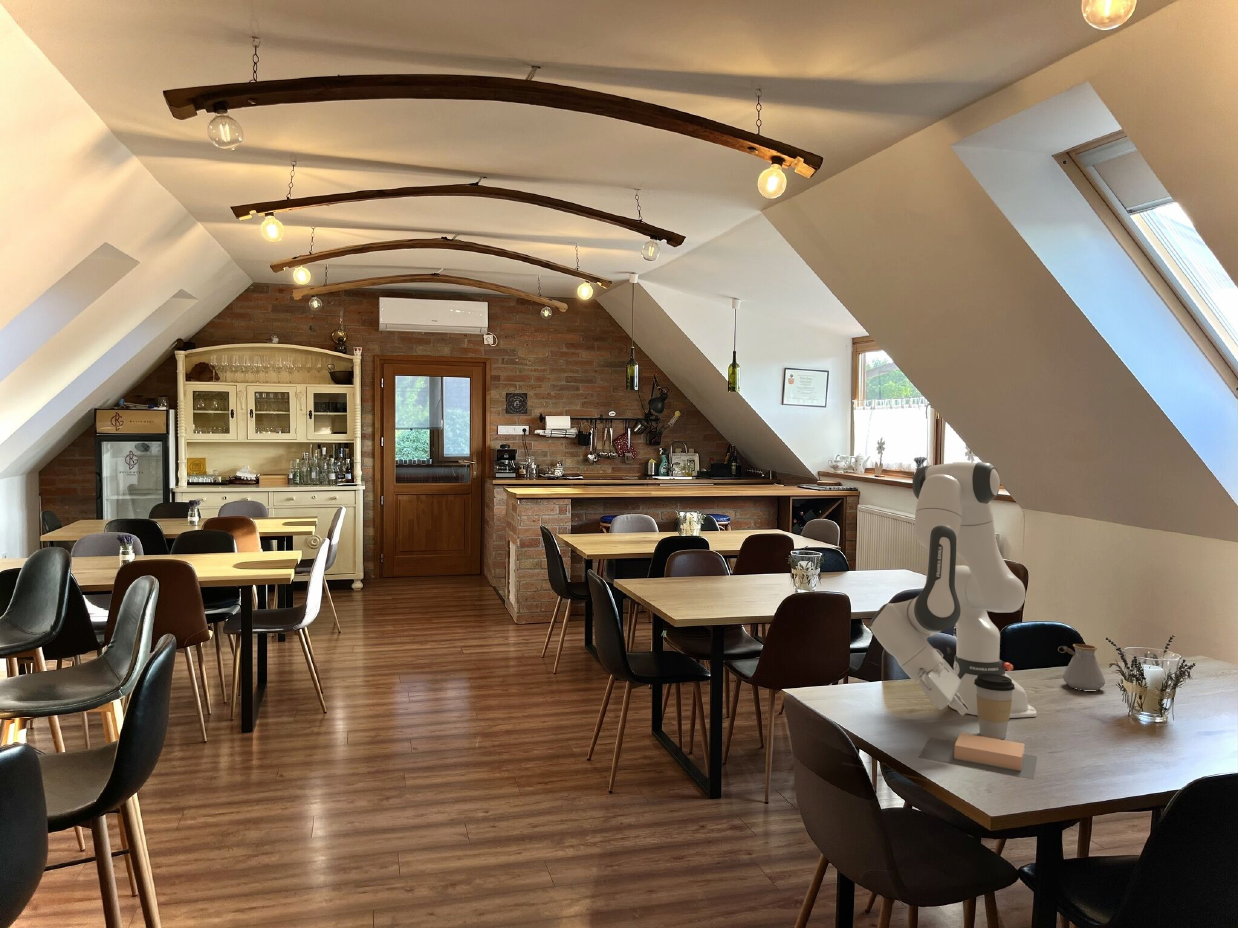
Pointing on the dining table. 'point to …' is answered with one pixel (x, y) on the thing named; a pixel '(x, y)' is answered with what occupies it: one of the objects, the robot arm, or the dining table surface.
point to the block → (989, 751)
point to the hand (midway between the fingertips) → (965, 712)
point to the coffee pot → (1083, 668)
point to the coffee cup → (993, 704)
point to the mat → (945, 753)
